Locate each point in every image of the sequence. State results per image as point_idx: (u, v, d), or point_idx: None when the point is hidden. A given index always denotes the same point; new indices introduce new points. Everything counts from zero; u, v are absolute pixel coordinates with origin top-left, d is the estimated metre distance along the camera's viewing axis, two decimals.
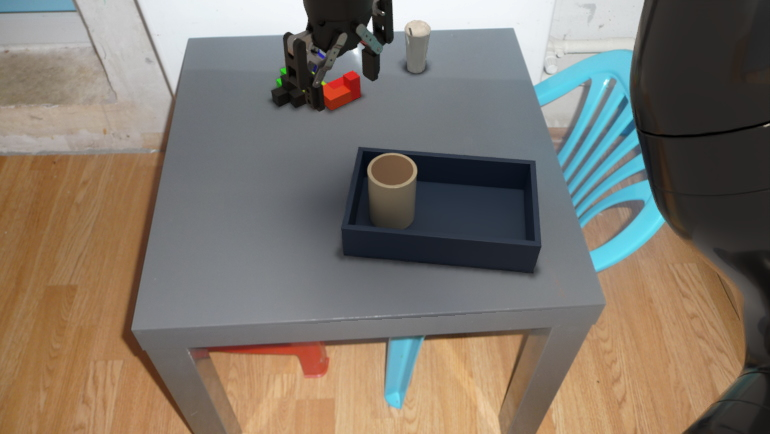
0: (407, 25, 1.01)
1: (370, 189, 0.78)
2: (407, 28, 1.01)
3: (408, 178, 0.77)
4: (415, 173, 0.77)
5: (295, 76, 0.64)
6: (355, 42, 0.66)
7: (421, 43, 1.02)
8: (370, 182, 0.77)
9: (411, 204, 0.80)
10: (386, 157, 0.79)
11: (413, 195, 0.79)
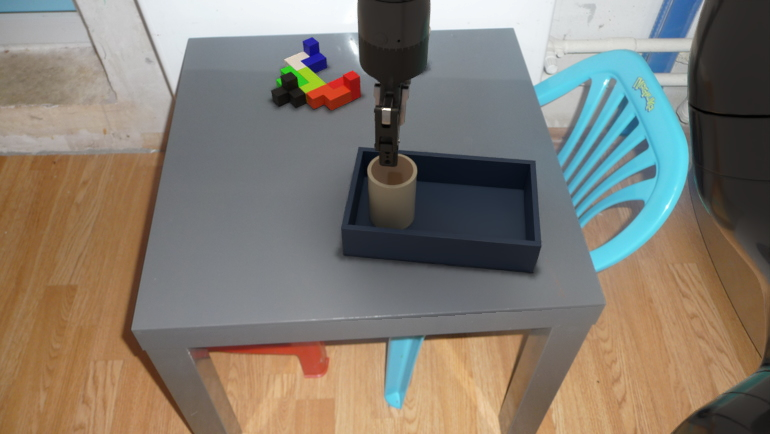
0: None
1: (370, 189, 0.78)
2: None
3: (408, 178, 0.77)
4: (415, 173, 0.77)
5: (385, 143, 0.65)
6: None
7: None
8: (370, 182, 0.77)
9: (411, 204, 0.80)
10: None
11: (413, 195, 0.79)
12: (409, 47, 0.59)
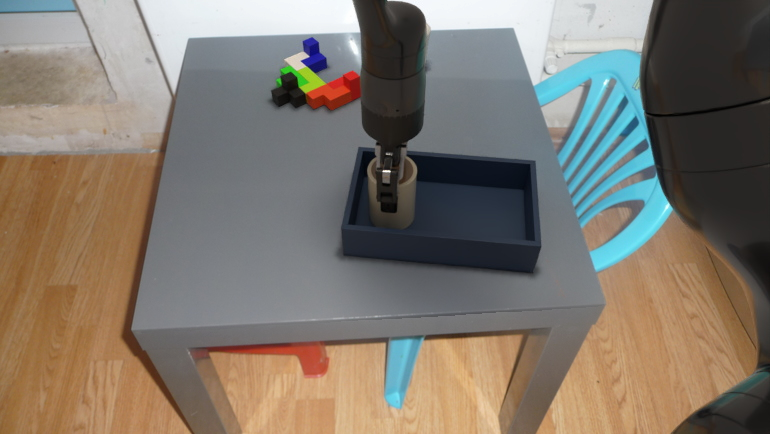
0: None
1: (370, 189, 0.78)
2: None
3: (408, 178, 0.77)
4: (415, 173, 0.77)
5: (386, 195, 0.73)
6: None
7: None
8: (370, 182, 0.77)
9: (411, 204, 0.80)
10: None
11: (413, 195, 0.79)
12: (407, 115, 0.66)
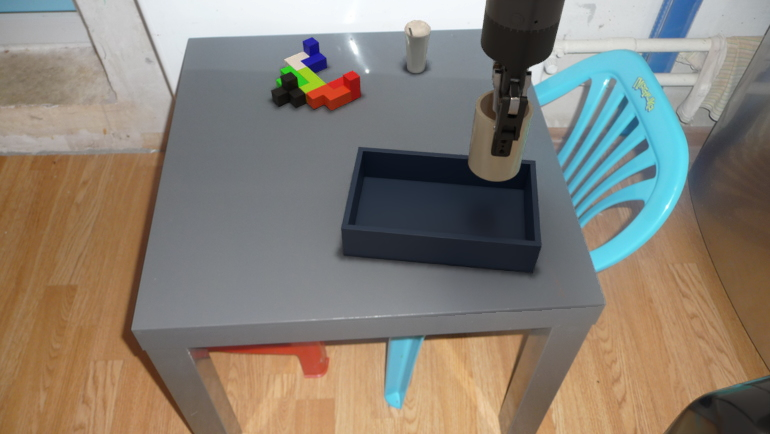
0: (407, 25, 1.01)
1: (478, 130, 0.68)
2: (407, 28, 1.01)
3: (525, 116, 0.66)
4: (532, 110, 0.67)
5: (507, 131, 0.62)
6: None
7: (421, 43, 1.02)
8: (480, 120, 0.67)
9: (522, 148, 0.70)
10: None
11: (526, 137, 0.69)
12: (545, 29, 0.56)
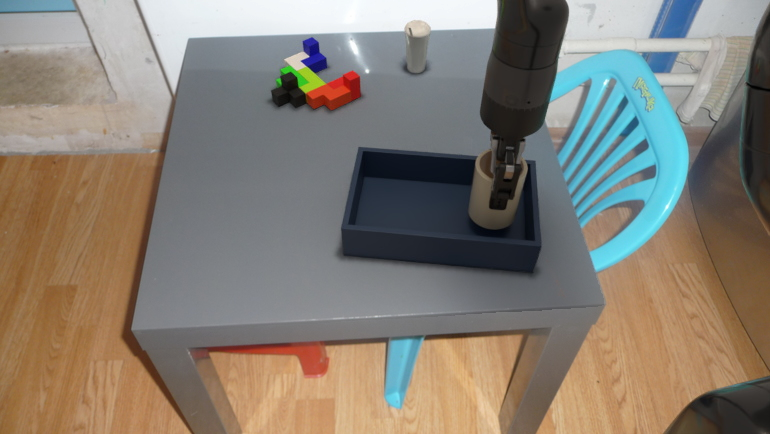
0: (407, 25, 1.01)
1: (477, 185, 0.75)
2: (407, 28, 1.01)
3: (520, 174, 0.74)
4: (526, 169, 0.74)
5: (503, 191, 0.70)
6: None
7: (421, 43, 1.02)
8: (479, 178, 0.74)
9: (518, 201, 0.77)
10: None
11: (521, 191, 0.76)
12: (536, 107, 0.63)
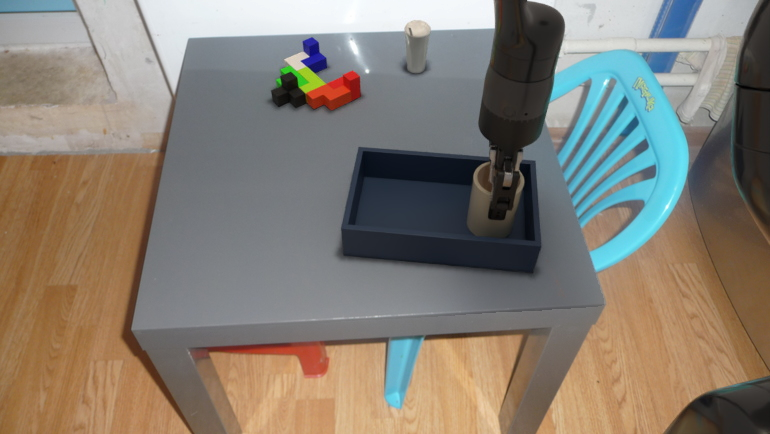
0: (407, 25, 1.01)
1: (475, 198, 0.77)
2: (407, 28, 1.01)
3: None
4: (523, 182, 0.76)
5: (502, 202, 0.70)
6: None
7: (421, 43, 1.02)
8: (477, 191, 0.76)
9: (515, 213, 0.79)
10: None
11: (518, 204, 0.78)
12: (533, 119, 0.65)
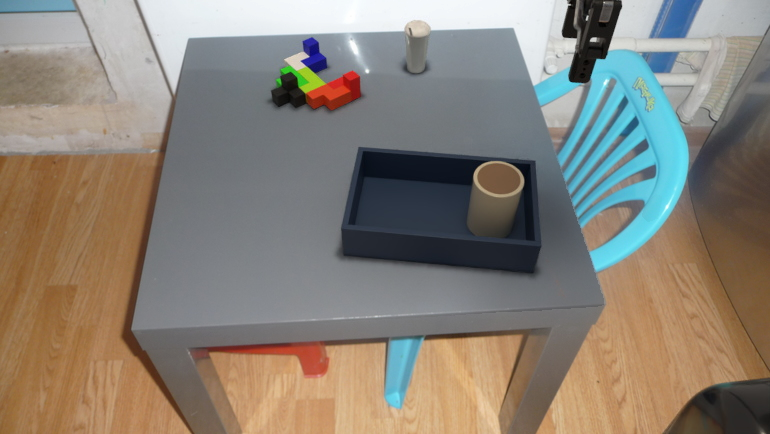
0: (407, 25, 1.01)
1: (475, 198, 0.77)
2: (407, 28, 1.01)
3: (516, 187, 0.75)
4: (523, 182, 0.76)
5: (594, 48, 0.57)
6: None
7: (421, 43, 1.02)
8: (477, 191, 0.76)
9: (515, 213, 0.79)
10: (490, 165, 0.78)
11: (518, 204, 0.78)
12: None
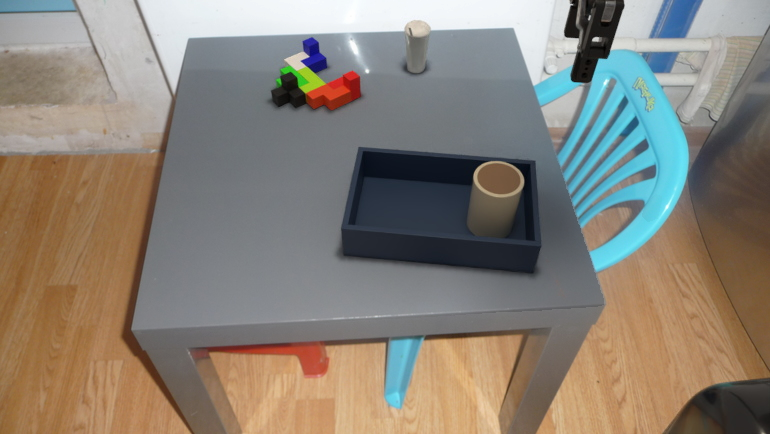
0: (407, 25, 1.01)
1: (475, 198, 0.77)
2: (407, 28, 1.01)
3: (516, 187, 0.75)
4: (523, 182, 0.76)
5: (596, 47, 0.57)
6: None
7: (421, 43, 1.02)
8: (477, 191, 0.76)
9: (515, 213, 0.79)
10: (490, 165, 0.78)
11: (518, 204, 0.78)
12: None
